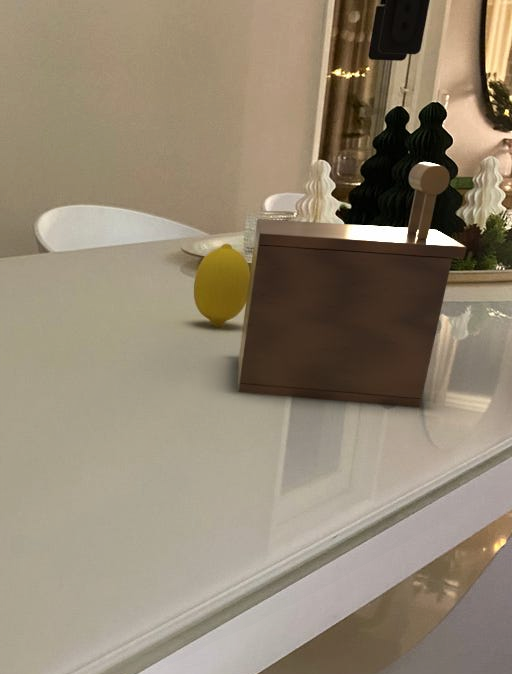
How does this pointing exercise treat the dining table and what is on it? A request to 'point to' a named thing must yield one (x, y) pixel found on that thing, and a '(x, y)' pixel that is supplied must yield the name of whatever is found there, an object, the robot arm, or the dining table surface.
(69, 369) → the dining table surface
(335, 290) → the chest
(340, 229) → the lid
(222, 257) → the lemon
